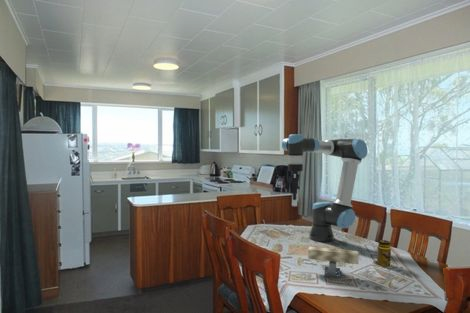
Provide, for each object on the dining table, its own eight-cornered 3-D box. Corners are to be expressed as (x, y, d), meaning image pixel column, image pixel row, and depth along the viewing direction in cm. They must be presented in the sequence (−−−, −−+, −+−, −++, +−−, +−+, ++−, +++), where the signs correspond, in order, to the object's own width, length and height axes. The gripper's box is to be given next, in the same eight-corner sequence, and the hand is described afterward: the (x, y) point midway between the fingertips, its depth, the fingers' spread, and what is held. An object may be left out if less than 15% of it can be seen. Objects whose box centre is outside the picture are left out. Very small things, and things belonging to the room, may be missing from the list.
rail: (324, 268, 156) (325, 255, 156) (339, 270, 154) (340, 256, 154) (324, 276, 146) (324, 262, 146) (340, 278, 144) (341, 264, 144)
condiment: (390, 268, 156) (391, 244, 156) (371, 265, 161) (372, 241, 160) (391, 263, 163) (392, 240, 162) (373, 260, 167) (374, 237, 166)
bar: (308, 258, 151) (308, 249, 151) (308, 255, 155) (309, 246, 155) (358, 264, 144) (358, 254, 144) (357, 260, 149) (357, 251, 149)
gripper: (289, 161, 183) (289, 198, 184) (286, 165, 159) (286, 207, 160) (303, 161, 181) (303, 199, 182) (302, 165, 157) (301, 208, 158)
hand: (295, 203), depth 171 cm, fingers open, 13 cm apart
